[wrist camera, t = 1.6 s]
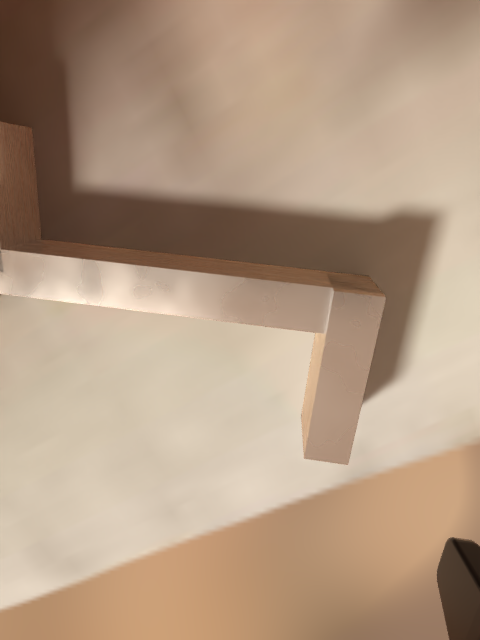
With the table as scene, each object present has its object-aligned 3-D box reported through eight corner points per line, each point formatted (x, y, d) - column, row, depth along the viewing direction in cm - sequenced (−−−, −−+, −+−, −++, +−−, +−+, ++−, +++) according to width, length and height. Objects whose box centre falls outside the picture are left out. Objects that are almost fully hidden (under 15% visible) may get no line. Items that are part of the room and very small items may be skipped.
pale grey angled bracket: (338, 420, 21) (347, 464, 18) (19, 376, 23) (-26, 410, 19) (392, 161, 17) (418, 157, 14) (-11, 123, 18) (-75, 112, 15)
